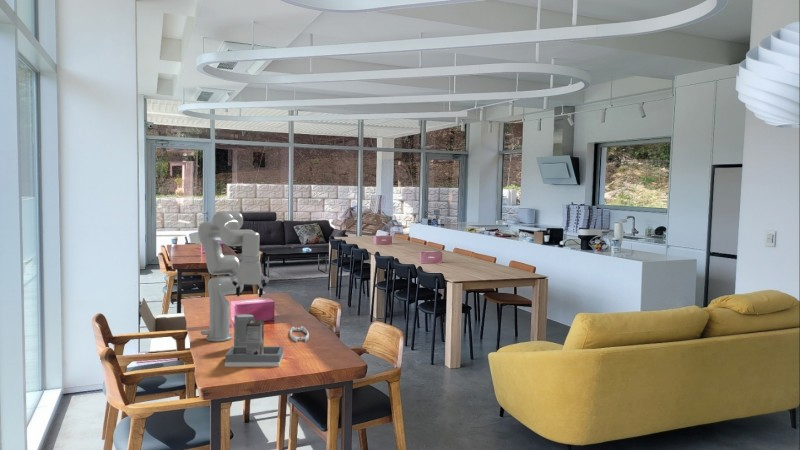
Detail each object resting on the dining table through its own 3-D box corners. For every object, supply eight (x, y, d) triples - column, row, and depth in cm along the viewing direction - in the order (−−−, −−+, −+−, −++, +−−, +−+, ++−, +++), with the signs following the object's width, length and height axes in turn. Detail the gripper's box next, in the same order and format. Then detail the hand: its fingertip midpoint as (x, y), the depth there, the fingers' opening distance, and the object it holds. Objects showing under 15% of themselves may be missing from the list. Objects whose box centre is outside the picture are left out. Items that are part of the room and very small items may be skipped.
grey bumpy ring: (306, 329, 307) (311, 342, 283) (288, 330, 304) (291, 343, 280) (306, 325, 307) (311, 337, 283) (288, 325, 304) (291, 337, 280)
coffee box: (249, 354, 255) (249, 319, 254) (263, 354, 255) (264, 319, 254) (245, 360, 246) (245, 324, 245) (260, 360, 246) (260, 324, 245)
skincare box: (236, 350, 264) (236, 317, 263) (233, 346, 271) (233, 314, 270) (254, 348, 268) (254, 316, 267) (251, 344, 275) (251, 312, 274)
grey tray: (224, 366, 241) (224, 356, 241) (232, 355, 257) (232, 345, 257) (279, 366, 244) (279, 356, 243) (283, 355, 259) (283, 345, 259)
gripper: (229, 259, 250) (228, 297, 252) (268, 261, 252) (267, 298, 253) (232, 257, 258) (231, 293, 259) (271, 258, 259) (269, 294, 261)
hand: (249, 296), depth 256 cm, fingers open, 9 cm apart
